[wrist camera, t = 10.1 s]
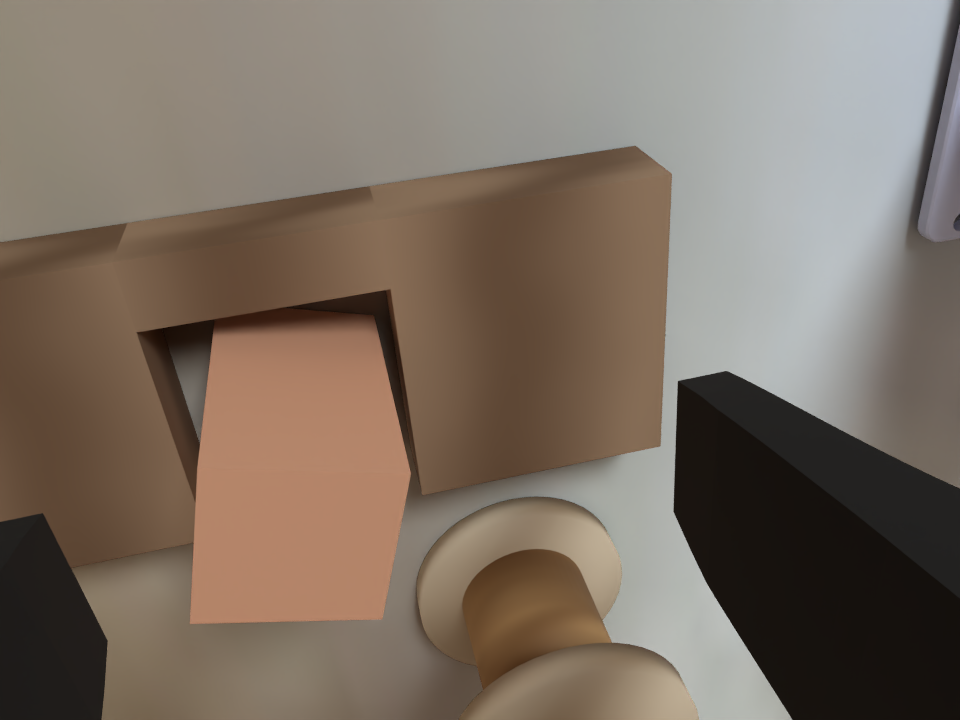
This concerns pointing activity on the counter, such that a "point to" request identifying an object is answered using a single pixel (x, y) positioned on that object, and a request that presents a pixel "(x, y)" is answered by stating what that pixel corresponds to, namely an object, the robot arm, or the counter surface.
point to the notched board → (329, 275)
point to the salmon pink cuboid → (297, 471)
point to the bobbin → (541, 618)
